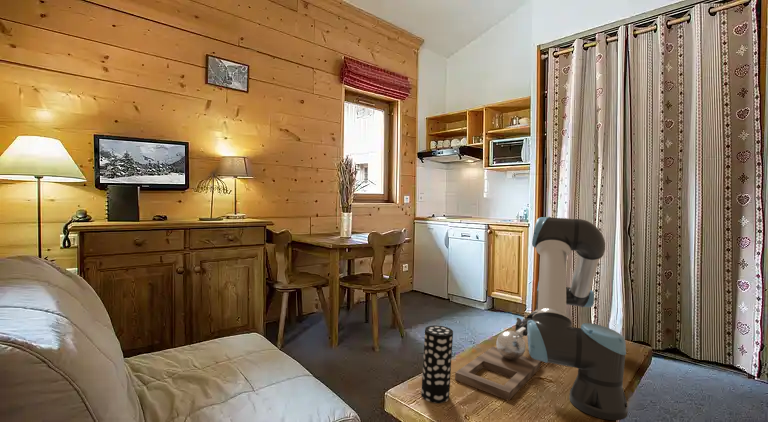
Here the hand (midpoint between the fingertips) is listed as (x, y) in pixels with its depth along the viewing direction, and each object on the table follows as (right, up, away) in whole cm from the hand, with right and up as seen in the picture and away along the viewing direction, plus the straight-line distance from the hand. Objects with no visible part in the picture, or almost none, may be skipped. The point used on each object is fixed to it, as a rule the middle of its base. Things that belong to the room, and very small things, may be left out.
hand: (517, 335), depth 143 cm
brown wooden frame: (-11, -9, -12) cm, 18 cm away
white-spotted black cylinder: (-35, -9, -29) cm, 46 cm away
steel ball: (-4, -2, -5) cm, 7 cm away
